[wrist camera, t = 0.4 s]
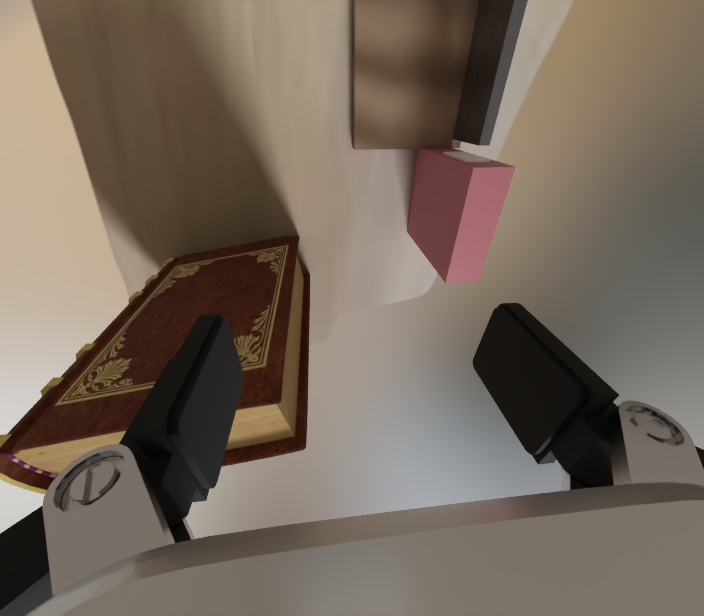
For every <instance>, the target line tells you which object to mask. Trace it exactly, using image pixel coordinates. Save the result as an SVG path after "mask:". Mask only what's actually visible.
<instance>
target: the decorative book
mask: <svg viewBox="0 0 704 616" xmlns="http://www.w3.org/2000/svg"><path fill="white" fill-rule="evenodd" d="M298 242H299V236H291V237H283V238H276V239H271V240H265V241H260V242H255V243H249V244H244V245H239V246H233V247H228V248H223V249H218V250H212V251H207V252H202V253H196V254H191V255H186V256H182V257H181V258H180V259H178V258H168V259H167V260H166V261H165V262H164V263H163V264H162V269H161V271H160V272H159V273H158V274H157V275H152V276H151V277H150V278H149V279H148V280H147V281H146V282H145V288H144V289H143V290H142V291H141V292H135V293H134V294H133V295H132V297H131V298H130V299H129V305H128V306H127V307H126V308H125V309H124V310H123V311H122V312H121V313H120V315H118V316H117V318H116V319H115V320H114V321H113V322H112V323H111V324H110V325H109V326H108V327H107V328H106V329H105V330H104V331H103V332H102V333H101V335H100V336H99V337H98V338H97V339H96V340H95V341H94V342H93V343H92V344H86V345H85V346H84V347H82V348H81V350H80V351H79V352H78V353H77V354H76V361H75V362H74V364H72V366H71V367H70V368H69V369H68V370H67V371H66V372H65V373H64V374H63V375H62V376H61V377H60V378H53V379H52V380H51V381H50V382H49V383H48V384H47V385H46V386H45V387H44V388H43V389H42V390H41V393H42V398H41V399H40V400H39V401H38V402H37V403H36V404H35V405H34V406H33V407H32V408H31V409H30V410H29V411H28V413H27V414H26V415H25V416H24V417H23V418H22V419H21V420H20V421H19V422H18V423H17V424H16V425H15V426H14V427H13V428H12V429H11V431H10V432H9V433H8V434H6V435H0V479H1V480H3V481H5V482H7V483H9V484H12V485H15V486H17V487H20V488H23V489H26V490H30V491H34V492H37V493H41V494H46V492H47V490H48V488H49V486H50V484H51V483H52V482H53V481H54V479H55V478H56V477H57V476H58V474H59V473H60V472H61V471H62V470H64V469H65V468H66V467H67V466H68V465H69V464H70V463H71V462H73V461H74V460H76V459H77V458H79V457H80V456H82V455H83V454H85V453H87V452H89V451H91V450H93V449H95V448H97V447H101V446H105V445H109V444H119V443H120V441H121V439H122V438H123V436H124V434H125V432H126V431H127V429H128V427H129V426H130V424H131V422H132V421H133V419H134V417H135V416H136V414H137V412H138V411H139V409H140V407H141V406H142V404H143V402H144V401H145V399H146V397H147V396H148V394H149V392H150V391H151V389H152V387H153V386H154V384H155V382H156V381H157V379H158V377H159V376H160V374H161V372H162V371H163V369H164V367H165V366H166V364H167V362H168V361H169V360H170V359H171V358H173V357H175V356H176V354H177V352H178V351H179V349H180V347H181V345H182V344H183V342H184V340H185V338H186V337H187V335H188V333H189V332H190V330H191V328H192V326H193V325H194V323H195V321H196V320H197V318H198V316H199V315H202V314H220V315H221V316H222V318H227V319H228V322H229V325H230V329H231V332H232V335H233V339H234V342H235V346H236V349H237V352H238V356H239V359H240V363H241V366H242V369H243V373H244V383H243V387H242V391H241V395H240V398H239V402H238V406H237V410H236V413H235V417H234V421H233V425H232V428H231V432H230V436H229V440H228V443H227V447H226V451H225V455H224V458H223V462H222V466H227V465H233V464H238V463H243V462H248V461H253V460H258V459H264V458H269V457H273V456H278V455H283V454H287V453H292V452H296V451H301V450H304V449H305V448H306V435H307V410H308V363H309V361H308V360H309V313H310V274H309V273H308V274H304V275H303V274H302V271H301V267H300V264H299V261H298V257H297V249H298ZM222 466H221V467H222Z"/></svg>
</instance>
